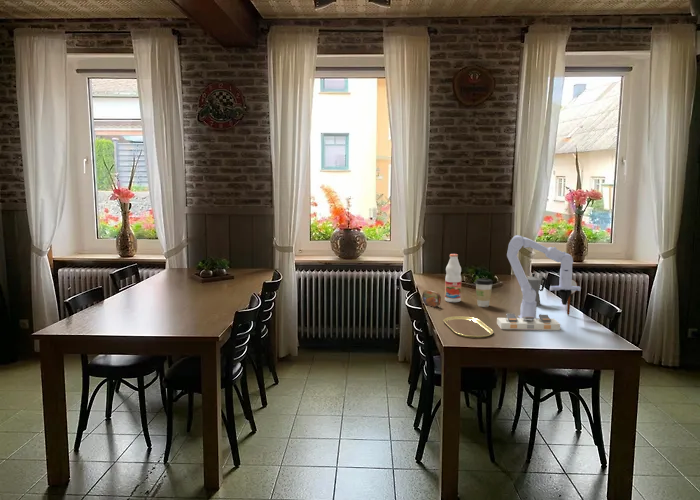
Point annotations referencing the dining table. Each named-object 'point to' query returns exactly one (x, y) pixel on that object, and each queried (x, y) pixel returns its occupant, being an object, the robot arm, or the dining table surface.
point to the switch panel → (528, 324)
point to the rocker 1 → (511, 317)
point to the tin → (431, 298)
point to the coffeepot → (537, 285)
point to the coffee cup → (483, 291)
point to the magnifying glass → (569, 296)
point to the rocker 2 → (544, 318)
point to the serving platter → (472, 320)
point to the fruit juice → (453, 280)
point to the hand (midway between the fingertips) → (564, 304)
